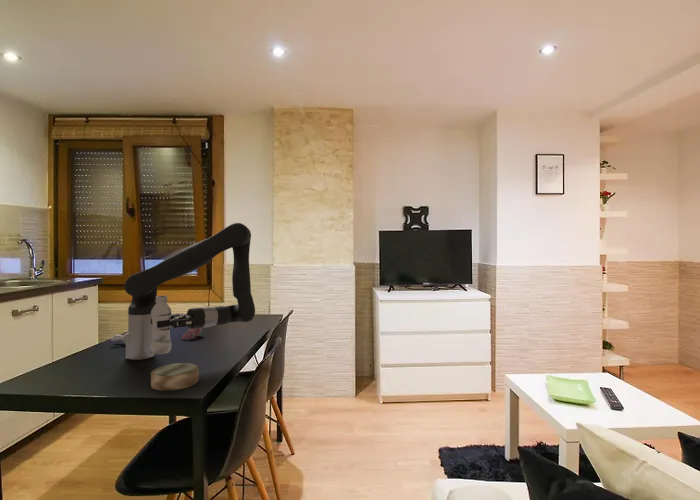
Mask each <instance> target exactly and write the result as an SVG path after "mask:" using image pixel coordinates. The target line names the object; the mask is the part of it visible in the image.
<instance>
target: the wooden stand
mask: <svg viewBox="0 0 700 500" xmlns="http://www.w3.org/2000/svg"><path fill="white" fill-rule="evenodd" d="M199 370H200V368H199V366H198V365H197V364H193V363H190V362H189V363H188V362H177V363H176V362H175V363H170V364H165V365H162V366H159V367H157V368H155V369H153V370H152V371H150V388H151V389H153V390H156V391H166V392H167V391H176V390H182V389H186V388H189V387H193V386H194V385H196V384H198V382H199V380H200V373H199V372H200V371H199Z"/></svg>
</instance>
